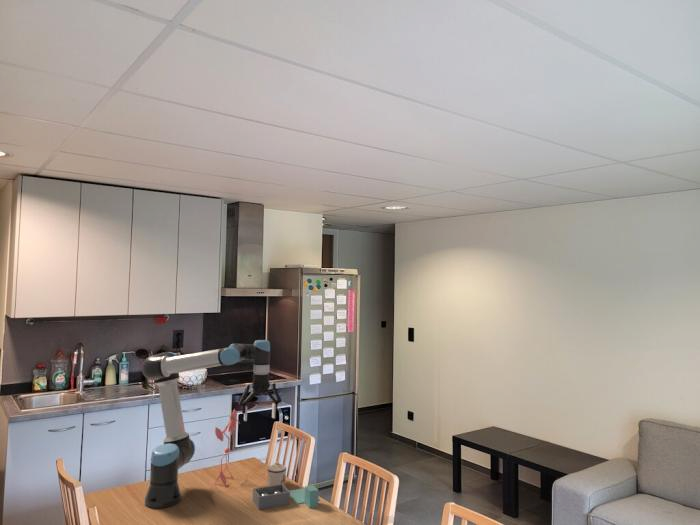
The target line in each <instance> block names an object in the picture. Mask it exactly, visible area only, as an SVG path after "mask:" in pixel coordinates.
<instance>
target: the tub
mask: <svg viewBox="0 0 700 525" xmlns="http://www.w3.org/2000/svg"><path fill="white" fill-rule="evenodd" d="M275 491H281V493H277V494H274V492H275ZM262 493H268V495H265V496H261V494H262ZM290 498H291V496H290V490H289V489H288V488H287V486H286V485H285V486H284V485H283V484H278V485H272V486H261V487H260V486H259V487H255V488H252V502H253V504H254V505H255V507H256V508H257V510H258V511H260V510H265V509H271V508H276V507H281V506H288V505H290V504H291V502H290V501H291V500H290Z"/></svg>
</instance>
